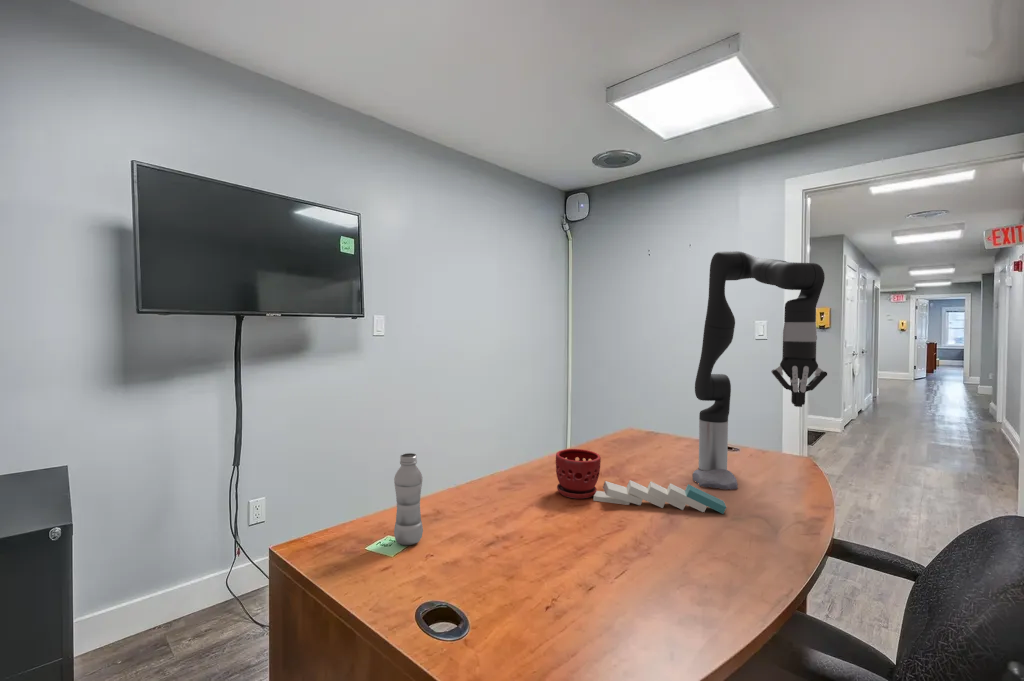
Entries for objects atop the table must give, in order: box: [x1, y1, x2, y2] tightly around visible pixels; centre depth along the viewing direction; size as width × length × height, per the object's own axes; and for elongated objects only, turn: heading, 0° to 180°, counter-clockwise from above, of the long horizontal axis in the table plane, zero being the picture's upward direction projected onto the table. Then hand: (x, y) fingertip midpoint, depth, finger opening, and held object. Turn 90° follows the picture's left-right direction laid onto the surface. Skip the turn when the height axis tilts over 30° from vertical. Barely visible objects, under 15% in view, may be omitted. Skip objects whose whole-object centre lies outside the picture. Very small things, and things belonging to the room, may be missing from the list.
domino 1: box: [593, 490, 631, 506], centre depth 139 cm, size 2×5×10 cm
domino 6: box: [684, 483, 727, 515], centre depth 132 cm, size 2×5×10 cm
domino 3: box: [626, 479, 666, 509], centre depth 136 cm, size 2×5×10 cm
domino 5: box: [666, 482, 708, 513], centre depth 133 cm, size 2×5×10 cm
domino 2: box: [602, 480, 644, 506], centre depth 136 cm, size 2×5×10 cm
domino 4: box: [647, 480, 687, 511], centre depth 135 cm, size 2×5×10 cm
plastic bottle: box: [393, 452, 424, 546], centre depth 111 cm, size 6×7×20 cm
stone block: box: [692, 469, 739, 490], centre depth 153 cm, size 12×5×10 cm
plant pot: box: [555, 448, 602, 500], centre depth 143 cm, size 13×13×12 cm
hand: (797, 406), depth 127 cm, fingers closed
